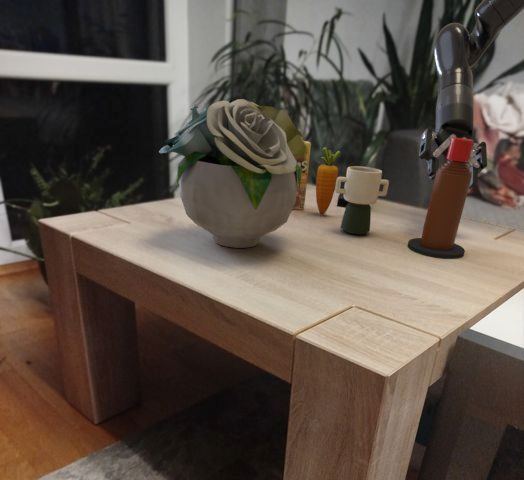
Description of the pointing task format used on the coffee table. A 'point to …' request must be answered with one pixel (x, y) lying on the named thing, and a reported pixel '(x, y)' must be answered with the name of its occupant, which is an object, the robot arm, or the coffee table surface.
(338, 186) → the cream green handled vessel
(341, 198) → the vhs tape
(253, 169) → the flower arrangement
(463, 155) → the cap
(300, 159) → the candy box
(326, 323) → the coffee table surface
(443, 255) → the coaster
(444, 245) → the bottle
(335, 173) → the carrot
